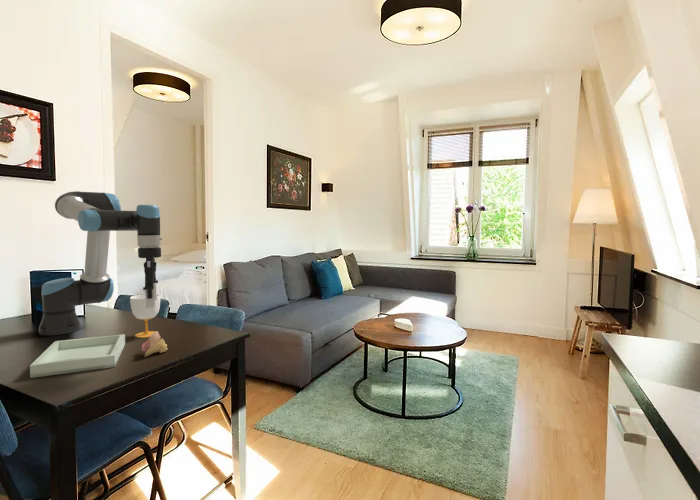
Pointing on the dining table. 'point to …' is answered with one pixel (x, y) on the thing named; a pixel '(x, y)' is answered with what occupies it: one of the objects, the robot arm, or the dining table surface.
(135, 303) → the cup
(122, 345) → the tray
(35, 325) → the dining table surface
